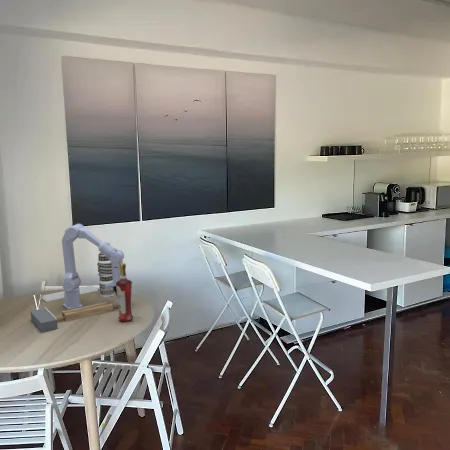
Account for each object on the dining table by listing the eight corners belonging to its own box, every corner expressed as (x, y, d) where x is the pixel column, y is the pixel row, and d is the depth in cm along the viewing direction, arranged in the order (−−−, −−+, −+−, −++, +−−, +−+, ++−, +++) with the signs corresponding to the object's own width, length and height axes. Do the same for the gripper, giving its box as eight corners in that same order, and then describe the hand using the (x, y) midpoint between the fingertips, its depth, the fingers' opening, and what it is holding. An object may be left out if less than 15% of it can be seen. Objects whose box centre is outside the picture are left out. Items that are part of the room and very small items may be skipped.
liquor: (115, 320, 229) (111, 264, 224) (127, 316, 234) (124, 261, 229) (123, 323, 224) (120, 266, 219) (136, 319, 229) (133, 263, 224)
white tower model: (96, 297, 265) (93, 253, 261) (102, 292, 274) (100, 250, 270) (112, 297, 264) (109, 253, 260) (118, 292, 273) (115, 250, 269)
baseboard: (99, 292, 276) (91, 287, 285) (99, 287, 275) (91, 283, 284) (46, 303, 257) (39, 298, 266) (46, 298, 256) (38, 293, 265)
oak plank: (54, 320, 231) (53, 313, 230) (108, 308, 247) (108, 301, 246) (57, 323, 226) (57, 316, 225) (113, 311, 242) (112, 304, 241)
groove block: (31, 319, 231) (30, 309, 230) (45, 316, 235) (45, 307, 234) (42, 332, 215) (41, 321, 214) (57, 328, 219) (56, 318, 218)
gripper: (107, 278, 237) (109, 304, 239) (134, 273, 245) (135, 298, 247) (102, 275, 242) (104, 300, 245) (128, 270, 251) (130, 295, 253)
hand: (119, 299), depth 246 cm, fingers closed
